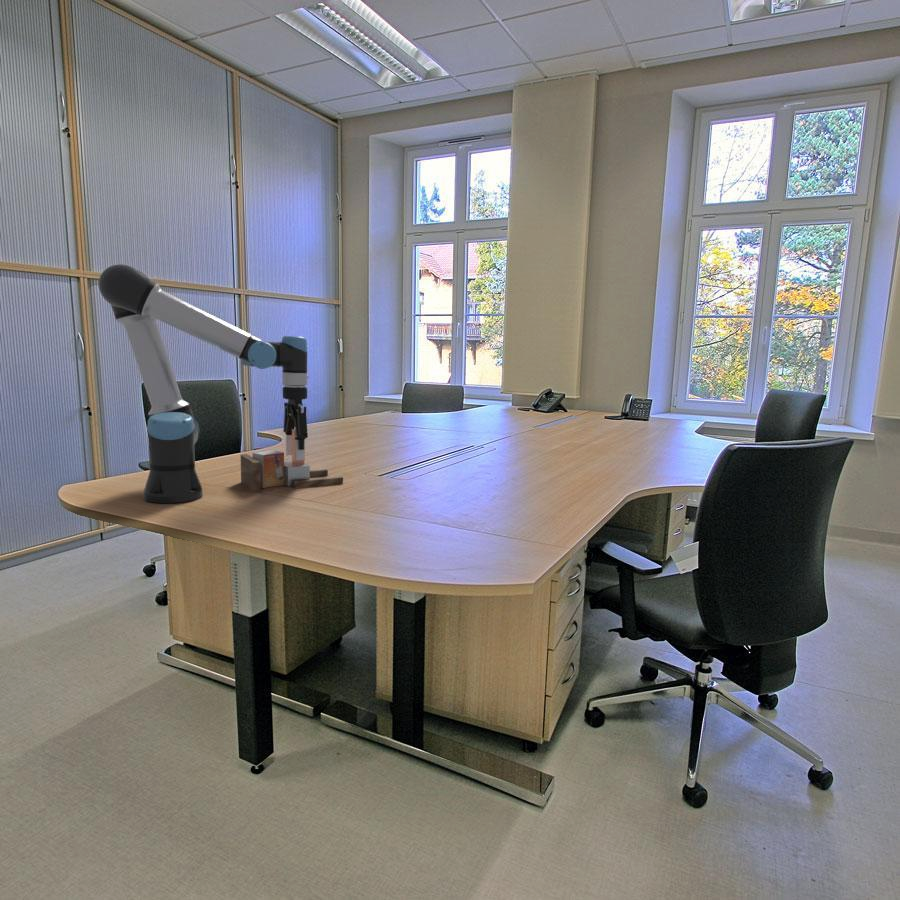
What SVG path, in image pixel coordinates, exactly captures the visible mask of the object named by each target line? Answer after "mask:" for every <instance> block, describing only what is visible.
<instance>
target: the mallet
mask: <svg viewBox="0 0 900 900" xmlns="http://www.w3.org/2000/svg"><path fill="white" fill-rule="evenodd" d="M296 437H297V436H296V430H295V429H292V455H291V460H288V461H285V460H284V485H285V486H287V487H293V481H298V480H309V479H311V477H310V470H311V469H310V468H311V465H309V464H307V463H305V460H296V440H295V438H296Z"/></svg>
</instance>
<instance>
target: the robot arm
mask: <svg viewBox="0 0 900 900" xmlns="http://www.w3.org/2000/svg"><path fill="white" fill-rule="evenodd" d="M98 288H99V291H100V292H99V293H100V294H101V296H102V298H103V299H104V300H105V301H106V302H107V304H109V305H110V307H111V308H112V311H113V312H112V313H113V315H114V317H115V321H116V322H117V323H119V324H121V325H122V326H124V329H125V332H126V335H127V338H128V341H129V343H130V346H131V350H132V353H133V355H134V359H135V361H136V365H137V368H138V371H139V373H140V377H141V379H142V382H143V385H144V388H145V391H146V395H147V397H148V400H149V402H150V405H151V408H150V410H149V411H148V417H149V418H148V420H147V426H146V430H147V437H148V439H147V440H148V461H149V462H148V463H149V473H148V477H147V480H146V482H145V486H144V490H143V499H144V501H146V502H148V501H149V503H153V502H155V503H154V504H178V503H180V504H181V503H186V502H192V501H195V500H198V499H201V498H202V497H203V486H202V484H201V481H200V479H199V476H198V472H197V471H196V455H195V445H196V443H197V441H198V440H199V438H200V426H199V423H198V421H197V419H196V418H195V416H194V414H193V410H192V408H191V405H190V402H187V401H186V400H184V399H183V398H182V395H181V394H182V393H181V392H180V388H179V386H178V382H177V379H176V377H175V373H174V369H173V366H172V364H171V359H170V358H169V354H168V351H167V348H166V346H165V341H164V339H163V336H162V333H161V331H160V330H161V329H160V328H159V323H158V321H160V322H163V323H165V324H167V325H169V326H171V327H173V328H175V329H177V330H180V331H181V332H184V333H185V334H187V335H190V336H192V337H194V338H196V339H198V340H201V341H202V342H204V343H206V344H209V345H211V346H212V347H215V348H217V349H219V350H221V351H223V352H225V353H228V354H230V355H232V356H233V357H236V358H238V359H240V360H241V364H242V365H243V366H244V367H245V366H246V367H254V368H257V369H261V370H265V369H269V368H271V367H277V368H280V367H281V368H282V374H281V376H282V381H281V382H282V383H281V384H282V385H283V387H282V398H283V399H285V400H288V401H287V402H284V404H283V405H284V414H283V417H284V418H283V430H282V431H283V433H284V434H285V455H286V456H292V429H295V430H296V436H297V437H296V438H295V440H296V460H304V461H305V460H306V457H305V456H306V453H305V452H306V448H305V447H306V446H305V445H306V442H305V441H306V439H308V438H309V437H308V436H309V435H308V420H307V405H304V404H303V400H307V399H308V388H307V387H306V386H307V385H308V379H309V375H308V341H307V339H306V338H305V337H304V336H295V335H294V336H293V335H292V336H290V335H283V336H282V338H281V341H279V342H276V341H274V342H273V341H265V340H263V339H260V338H259V337H257V336H254V335H251V333H249V332H246V331H245V330H242V329H241V328H239V327H237V326H235V325H234V324H230V323H229V322H227V321H224V320H223V319H220V318H218V317H217V316H215V315H213V314H210V313H208V312H206V311H204V310H202V309H200V308H198V307H197V306H195V305H192V304H190V303H189V302H187V301H184V300H183V299H180V298H179V297H176V296H174V295H172V294H171V293H169V292H166V291H164V290H163V289H162V288H161V286H160V284H159V283H157V282H155V281H153V280H151V279H150V278H149V277H148V276H147V275H146V274H145V273H143V272H142V271H140V270H138V269H136V268H134V267H132V266H130V265H127V264H113V265H110V266H108V267H107V268H105V269H104V270H103V271H102V273H101V274H100V276H99V279H98ZM157 320H158V321H157Z"/></svg>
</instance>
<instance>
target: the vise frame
mask: <svg viewBox="0 0 900 900" xmlns="http://www.w3.org/2000/svg"><path fill="white" fill-rule="evenodd" d="M328 471H329V470H328V469H327V468H324V469H323V468H322V469H313V470H311V469H310V479H309V480H298V481H293V486H292V487H293V488H294V489H299V488H302V489H303V488H309V487H311V488H312V487H320V486H321V487H322V486H332V485H342V484H344V477H343V476H335V477H334V476H333V477H332V476H331V477H328V476H329V474H328ZM316 477H317V478H316ZM318 477H319V478H318ZM320 477H322V478H320ZM323 477H324V478H323ZM240 483H241V484H242V485H244V486H246V487H247V488H248V489H249V490H251V491H252V492H253V493H259V492H262V491H261V489H262V488H261V474H260V462H259V461H258V460H256V459H254V458H253V456H251V455H250V454H247V453H245V454H243V453H242V454H240Z"/></svg>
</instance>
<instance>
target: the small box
mask: <svg viewBox="0 0 900 900" xmlns="http://www.w3.org/2000/svg"><path fill="white" fill-rule="evenodd" d="M252 457H253V458H254V459H256V460H258V461H259V462H260V474H261V489H265V488H270V487H278V486H283V485H285V484H284V461H285V452H284V451H278V450H274V449H273V450H266V451H259V452H253V453H252Z"/></svg>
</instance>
